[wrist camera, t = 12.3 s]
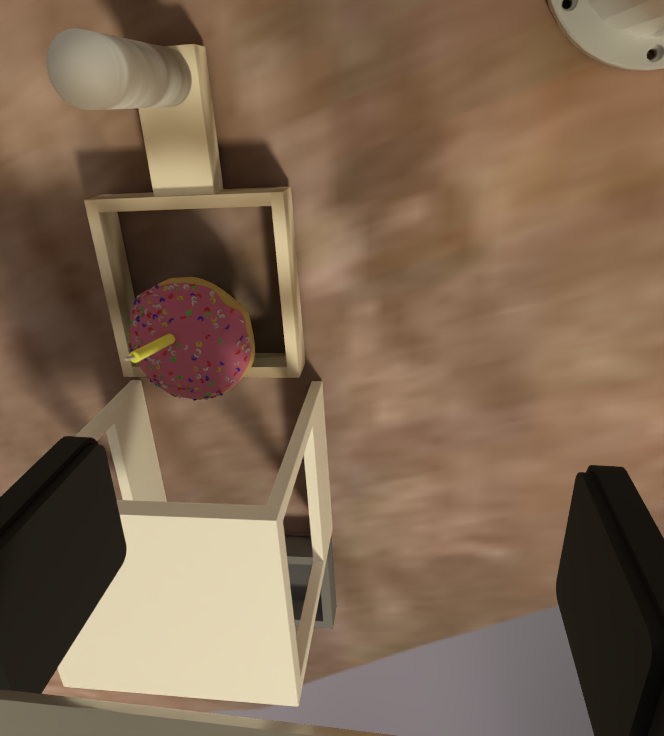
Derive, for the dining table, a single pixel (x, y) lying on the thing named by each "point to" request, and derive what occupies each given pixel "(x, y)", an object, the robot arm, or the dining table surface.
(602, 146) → the dining table surface
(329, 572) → the grey shallow rectangular tray
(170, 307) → the cupcake
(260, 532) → the white open frame box
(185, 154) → the cream frame with post
